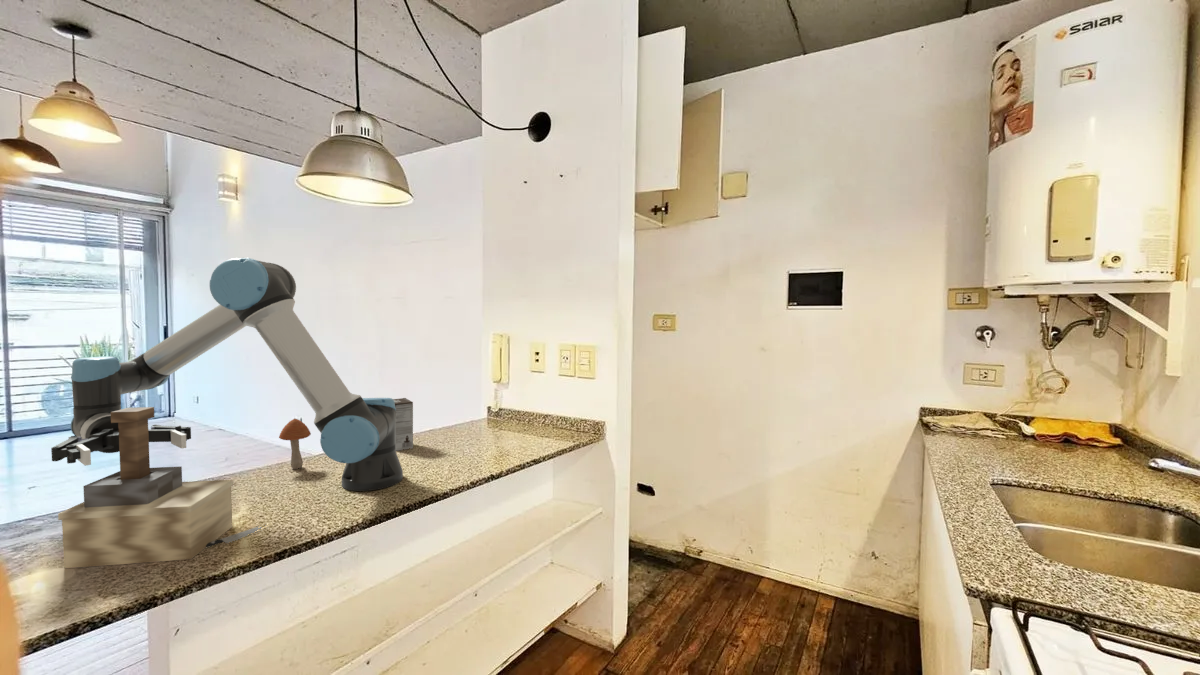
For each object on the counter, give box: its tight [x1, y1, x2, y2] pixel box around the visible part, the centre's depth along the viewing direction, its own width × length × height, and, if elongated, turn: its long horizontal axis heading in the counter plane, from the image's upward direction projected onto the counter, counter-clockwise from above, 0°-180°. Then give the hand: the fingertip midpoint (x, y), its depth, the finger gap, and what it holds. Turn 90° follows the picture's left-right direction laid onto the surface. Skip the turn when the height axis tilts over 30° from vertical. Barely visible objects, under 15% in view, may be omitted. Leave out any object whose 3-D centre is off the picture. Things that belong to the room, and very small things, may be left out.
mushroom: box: [278, 418, 312, 470], centre depth 144 cm, size 8×8×15 cm
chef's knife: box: [206, 525, 266, 548], centre depth 101 cm, size 19×1×3 cm
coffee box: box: [392, 397, 414, 452], centre depth 168 cm, size 9×6×16 cm
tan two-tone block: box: [57, 466, 234, 569], centre depth 96 cm, size 21×15×14 cm
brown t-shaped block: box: [111, 406, 155, 480], centre depth 95 cm, size 4×4×17 cm
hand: (138, 449), depth 93 cm, fingers open, 13 cm apart
